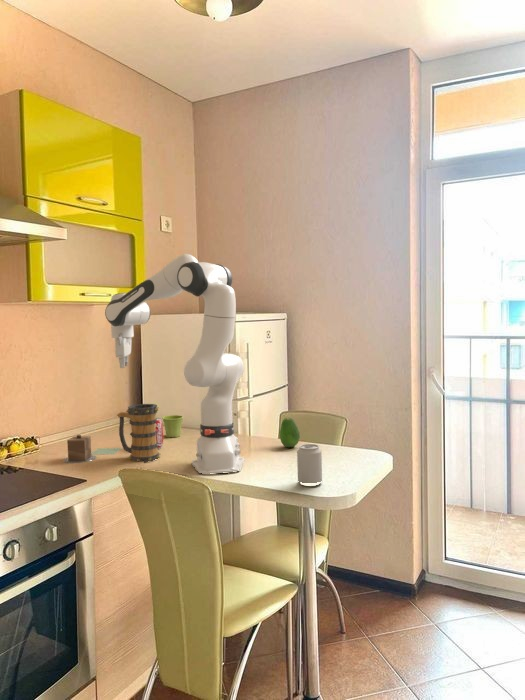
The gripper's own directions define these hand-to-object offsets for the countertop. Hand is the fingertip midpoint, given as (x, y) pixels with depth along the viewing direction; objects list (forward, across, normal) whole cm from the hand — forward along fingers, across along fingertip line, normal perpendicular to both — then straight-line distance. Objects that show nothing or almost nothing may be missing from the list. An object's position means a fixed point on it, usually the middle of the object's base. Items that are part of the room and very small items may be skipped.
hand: (124, 367), depth 227 cm
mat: (+33, -7, +8) cm, 35 cm away
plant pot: (+33, +17, -18) cm, 42 cm away
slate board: (+33, -18, +16) cm, 41 cm away
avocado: (+33, -17, -65) cm, 75 cm away
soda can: (+33, -5, -11) cm, 35 cm away
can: (+33, -66, -63) cm, 97 cm away
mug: (+33, -21, -7) cm, 40 cm away
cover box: (+33, -18, +15) cm, 40 cm away
